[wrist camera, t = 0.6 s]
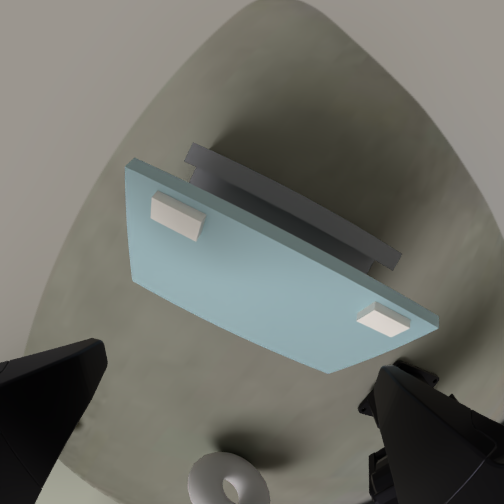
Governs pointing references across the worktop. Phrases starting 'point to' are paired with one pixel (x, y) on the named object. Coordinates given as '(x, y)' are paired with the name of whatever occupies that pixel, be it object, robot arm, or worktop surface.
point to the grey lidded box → (288, 210)
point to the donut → (231, 469)
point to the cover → (259, 277)
